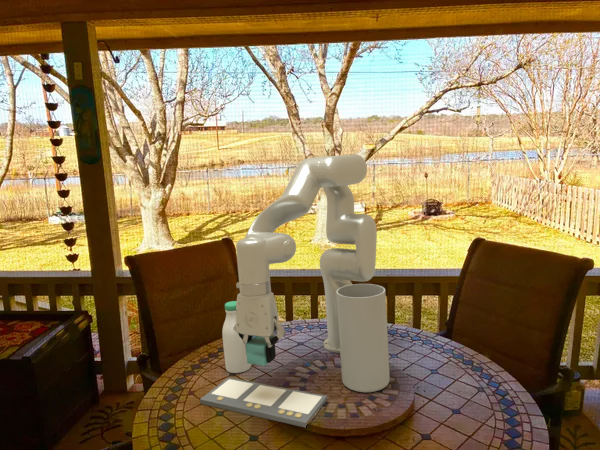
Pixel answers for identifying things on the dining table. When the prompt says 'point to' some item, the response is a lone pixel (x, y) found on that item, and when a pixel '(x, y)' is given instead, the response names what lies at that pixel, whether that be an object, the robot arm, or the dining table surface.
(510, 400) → the dining table surface
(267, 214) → the robot arm
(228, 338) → the milk bottle
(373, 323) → the cylinder vase
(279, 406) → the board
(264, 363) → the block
